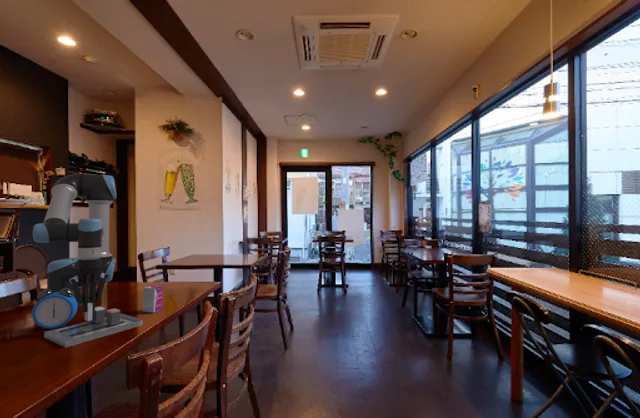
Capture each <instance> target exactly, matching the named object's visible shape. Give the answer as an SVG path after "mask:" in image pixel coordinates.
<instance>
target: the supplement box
mask: <svg viewBox="0 0 640 418" xmlns="http://www.w3.org/2000/svg"><path fill="white" fill-rule="evenodd" d="M142 298H143V300H142V304H143V305H142V313H143V314H153V315H154V314H155V313H157V312H160V311H163V310H162V309H163V285H156V284H153V285H148V286H145V287H143V297H142Z"/></svg>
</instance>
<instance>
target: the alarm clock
mask: <svg viewBox="0 0 640 418" xmlns="http://www.w3.org/2000/svg"><path fill="white" fill-rule="evenodd" d="M54 291H58V290H54ZM52 292H53V291H52V290H50V289H47V288H46V289H41V291H40V292H39V293H38V294H37V299H38V300H37V302H36V303H35V304H34V305H33V308H32V311H31V316H32V317H31V318H32V321H34V323H35V324H36V325H37V326H38V327H41V328H42V329H41V330H42V331H43V330H44V329H47V330H48V329H49V330H55V329H59V328H63V327H66V326H65V325H66V324H68V323H69V322H70V321H71V320H72V319H73V318H74V316H75V315H76V314H77V311H78V309H79V308H78V304H77V302H76V299H75V298H74V297H73V295H74V291H73V290H72V289H70V288H63V289H61V290H60V291H59V292H54V293H52ZM50 293H51V294H50ZM48 294H49V295H48Z"/></svg>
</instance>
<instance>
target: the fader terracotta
mask: <svg viewBox="0 0 640 418" xmlns="http://www.w3.org/2000/svg"><path fill="white" fill-rule="evenodd" d="M120 313H121V309H118V308H115V307H114V308H110V309H107V310H106V309H105V317H106V324H108V325H111V326H112V325H115V324H119V323H120Z"/></svg>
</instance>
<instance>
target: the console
mask: <svg viewBox="0 0 640 418" xmlns="http://www.w3.org/2000/svg"><path fill="white" fill-rule="evenodd" d="M143 323H144V320H143V319H141V318H138V317H135V316H132V315H129V314H128V315H127V314H124V313H122V312H120V323H119V324H115V325H112V326H111V325H108V324H106V316H105V321H103V322H99V323H94V322H92V321H91V320H90V321H84V322H83V321H82V322H80V323H76V324H72V325H68V326H65V327H63V326H62V327H58V328H54V329H50V330H48V331H44V333H43V336H44V337H43V338H45V339H46V340H48V341H51V342H53V343H54V344H57V345H59V346H61V347H62V348H65V349H66V348H68V347H72V346H76V345H79V344H82V343H85V342H89V341H93V340H97V339H99V338H103V337H106V336H110V335H114V334H118V333H121V332H124V331H127V330H131V329H134V328H138V327H141V326H143V325H144V324H143Z"/></svg>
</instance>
